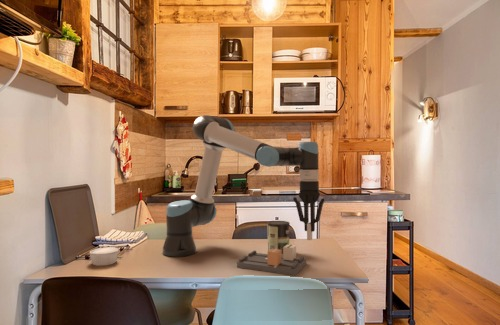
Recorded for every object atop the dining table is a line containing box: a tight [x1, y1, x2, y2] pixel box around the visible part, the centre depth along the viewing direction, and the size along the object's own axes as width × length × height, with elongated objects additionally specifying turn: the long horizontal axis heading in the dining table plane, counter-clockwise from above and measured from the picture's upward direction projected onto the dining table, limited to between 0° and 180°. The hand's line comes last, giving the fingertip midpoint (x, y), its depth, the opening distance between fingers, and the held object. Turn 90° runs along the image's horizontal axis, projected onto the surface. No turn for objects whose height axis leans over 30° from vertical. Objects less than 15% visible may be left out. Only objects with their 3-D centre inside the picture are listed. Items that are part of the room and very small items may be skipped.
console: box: [236, 250, 307, 276], centre depth 139 cm, size 24×17×3 cm
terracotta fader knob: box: [267, 249, 282, 266], centre depth 133 cm, size 4×5×5 cm
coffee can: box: [266, 220, 290, 256], centre depth 158 cm, size 10×10×14 cm
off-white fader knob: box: [283, 244, 297, 261], centre depth 140 cm, size 4×5×5 cm
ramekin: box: [89, 246, 120, 267], centre depth 142 cm, size 11×11×5 cm
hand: (309, 239), depth 137 cm, fingers closed
